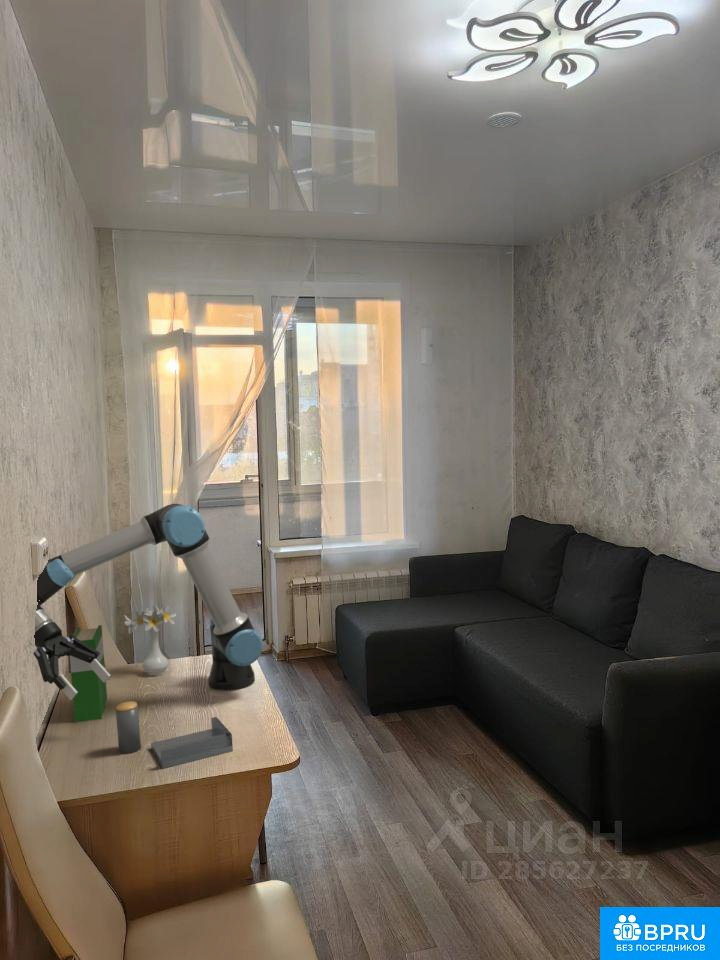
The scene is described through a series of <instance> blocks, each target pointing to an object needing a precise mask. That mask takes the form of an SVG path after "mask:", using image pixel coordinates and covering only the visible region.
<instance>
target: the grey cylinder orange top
mask: <svg viewBox="0 0 720 960" xmlns="http://www.w3.org/2000/svg"><path fill="white" fill-rule="evenodd" d="M139 715H140V714H139V706H138V703H137V701H123V702H121V703H119V704H117V705H116V706H115V717H116V718H115V719H116V730H117V743H118V744H117V746H118V752H119V753H120V754H123V755H127V754H128V755H129V754H133V753H137V752H138V751H140V750H141V748H142V745H141V744H142V743H141V742H142V741H141V731H140V729H141V728H140V719H139V717H140V716H139Z"/></svg>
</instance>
